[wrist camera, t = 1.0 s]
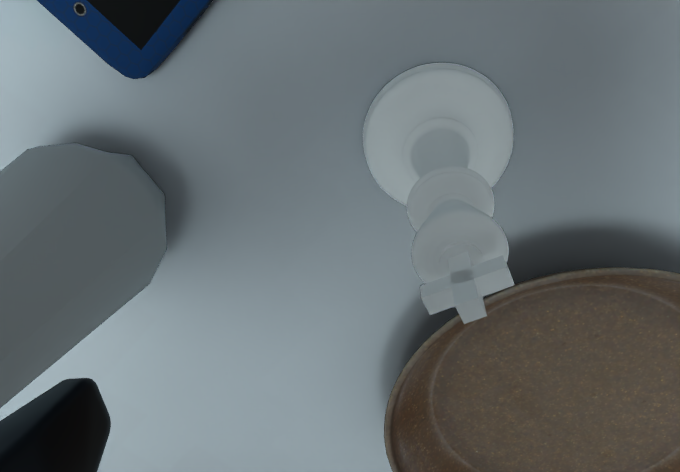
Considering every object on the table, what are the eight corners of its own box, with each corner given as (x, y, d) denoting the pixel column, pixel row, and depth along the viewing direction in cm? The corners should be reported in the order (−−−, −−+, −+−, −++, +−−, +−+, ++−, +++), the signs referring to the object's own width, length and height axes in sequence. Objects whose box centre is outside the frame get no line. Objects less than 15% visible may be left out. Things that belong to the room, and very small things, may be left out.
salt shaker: (6, 197, 21) (-443, 492, 10) (84, 88, 19) (-379, 307, 8) (133, 292, 23) (-130, 644, 12) (218, 202, 21) (-2, 525, 9)
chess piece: (337, 104, 19) (284, 250, 10) (480, 33, 17) (566, 130, 8) (399, 226, 21) (401, 441, 12) (533, 171, 19) (650, 368, 10)
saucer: (787, 469, 24) (830, 527, 22) (455, 537, 28) (460, 592, 26) (735, 167, 19) (785, 201, 16) (327, 305, 22) (318, 349, 20)
